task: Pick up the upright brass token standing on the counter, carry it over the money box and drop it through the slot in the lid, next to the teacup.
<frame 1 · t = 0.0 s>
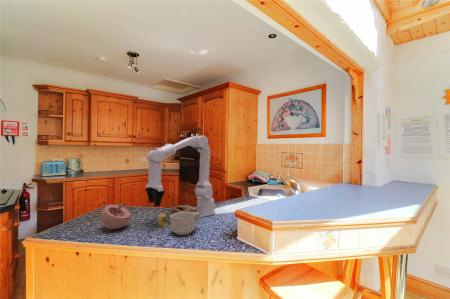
hand: (154, 204, 98), 10 cm above the counter, fingers open, 7 cm apart
mortar and pestle: (115, 228, 94), on the counter
brass token: (162, 225, 98), on the counter
teacup: (186, 232, 91), on the counter
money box: (183, 220, 105), on the counter
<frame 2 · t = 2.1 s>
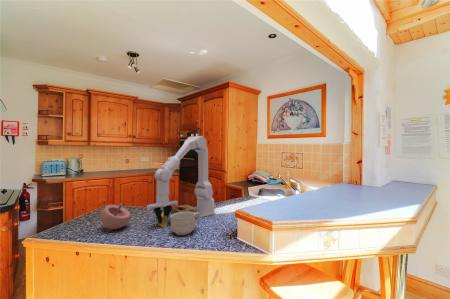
hand: (162, 222, 98), 1 cm above the counter, fingers closed on brass token, 2 cm apart
brass token: (162, 225, 98), on the counter, touching gripper
everything else where it was.
when the fingers open (7 cm above the counter, at t = 3.9 s): brass token drops 4 cm, resting on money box.
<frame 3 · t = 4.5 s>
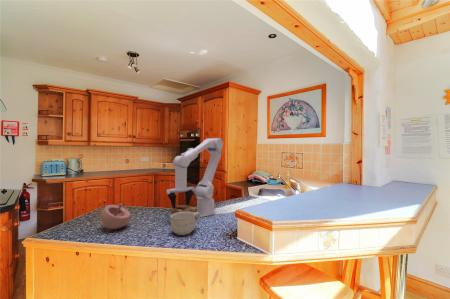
hand: (180, 206, 104), 7 cm above the counter, fingers open, 7 cm apart
brass token: (180, 220, 104), resting on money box
everything else where it was.
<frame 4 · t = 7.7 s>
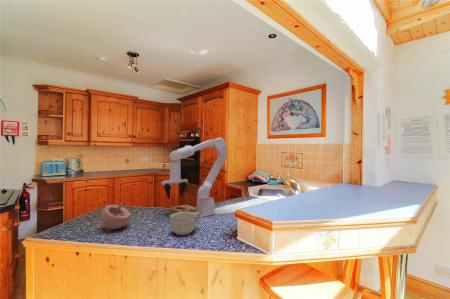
hand: (175, 196, 115), 10 cm above the counter, fingers open, 7 cm apart
nothing on the counter moved.
at the end: brass token inside the target area on the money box (1.5 cm from its centre), point 0.5 cm above the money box's base; the gripper is holding nothing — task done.
